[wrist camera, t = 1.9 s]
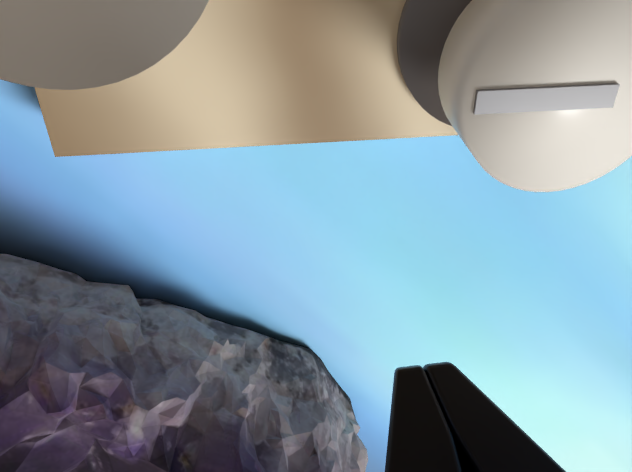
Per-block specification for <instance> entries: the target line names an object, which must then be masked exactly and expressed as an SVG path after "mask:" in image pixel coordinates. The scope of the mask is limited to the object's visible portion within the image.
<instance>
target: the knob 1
mask: <svg viewBox="0 0 632 472" xmlns="http://www.w3.org/2000/svg"><path fill="white" fill-rule="evenodd" d="M208 1H209V0H0V79H2V80H5V81H9V82H13V83H17V84H21V85H25V86H29V87H37V88H44V89H53V90H78V89H87V88H96V87H100V86H104V85H109V84H113V83H117V82H120V81H122V80H125V79H127V78H130V77H132V76H135V75H137V74H139V73H141V72H142V71H144V70H146V69H148V68H149V67H151V66H153V65H155V64H156V63H158V62H159V61H160V60H161V59H163V58H164V57H165V56H166V55H168V54H169V53H170V52H172V51H173V50H174V49H175V48H176V47H177V46H178V44H179V43H180V42H181V41H182V40H183V39H184V38H185V37H186V36H187V35H188V34H189V32H190V31H191V29H192V28H193V27H194V25H195V24H196V22H197V21H198V19H199V18H200V17H201V15H202V13H203V11H204V9H205V7H206V5H207V3H208Z"/></svg>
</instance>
